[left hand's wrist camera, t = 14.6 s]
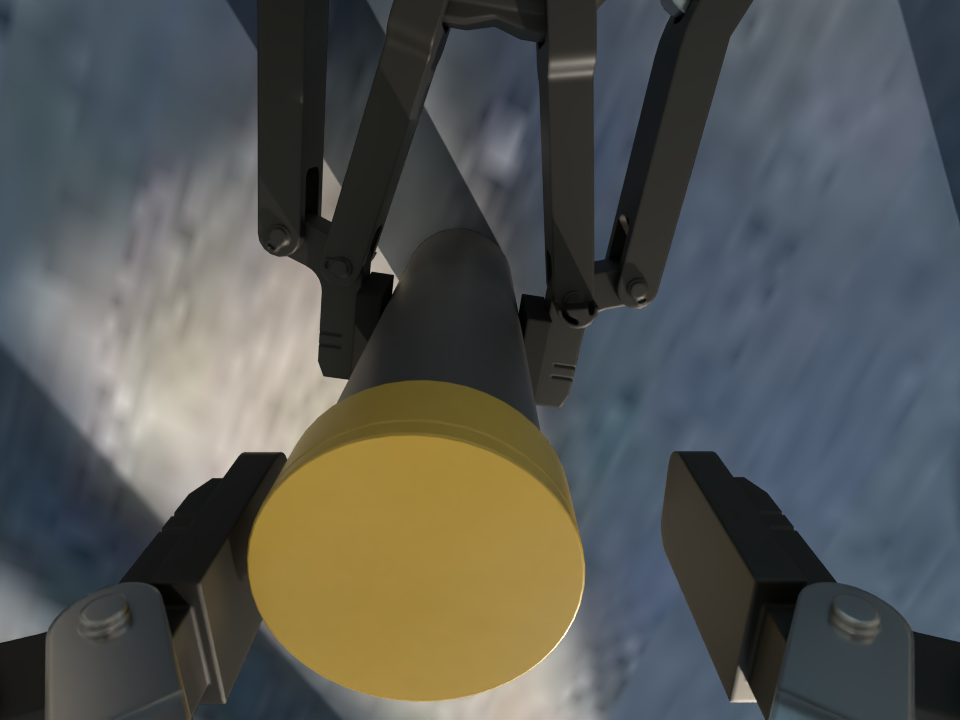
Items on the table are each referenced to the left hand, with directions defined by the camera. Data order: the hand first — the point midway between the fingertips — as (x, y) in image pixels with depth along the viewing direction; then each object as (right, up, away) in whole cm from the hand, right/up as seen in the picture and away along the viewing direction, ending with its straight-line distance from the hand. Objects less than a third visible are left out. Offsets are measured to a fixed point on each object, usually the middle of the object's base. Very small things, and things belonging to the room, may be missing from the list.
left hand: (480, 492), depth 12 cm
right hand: (-2, -1, +10) cm, 10 cm away
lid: (-1, -1, -2) cm, 3 cm away
